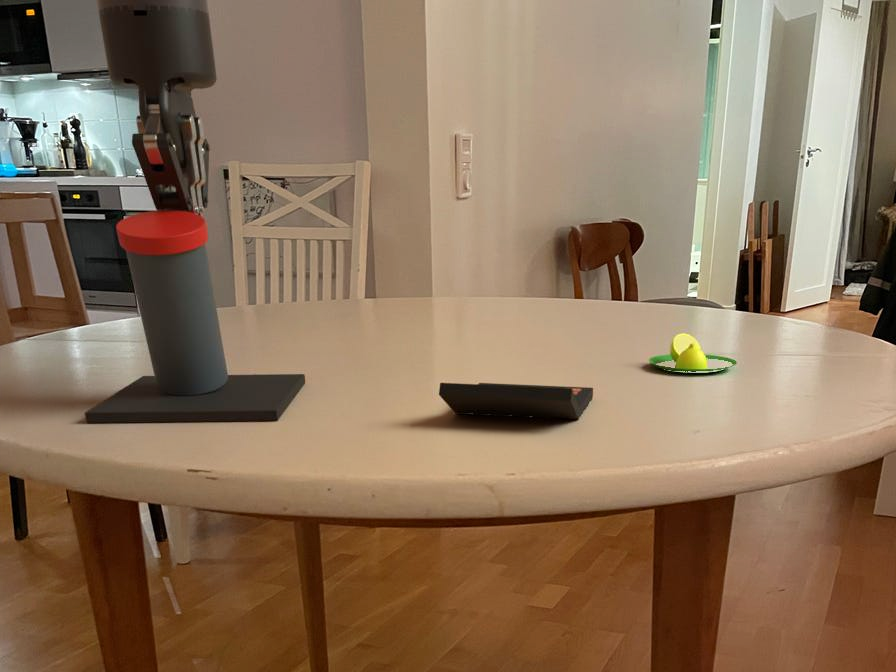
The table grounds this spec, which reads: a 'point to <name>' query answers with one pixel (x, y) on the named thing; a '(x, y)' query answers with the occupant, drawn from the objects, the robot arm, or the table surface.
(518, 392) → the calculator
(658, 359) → the lemon
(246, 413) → the mat
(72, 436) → the table surface
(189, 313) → the tumbler
